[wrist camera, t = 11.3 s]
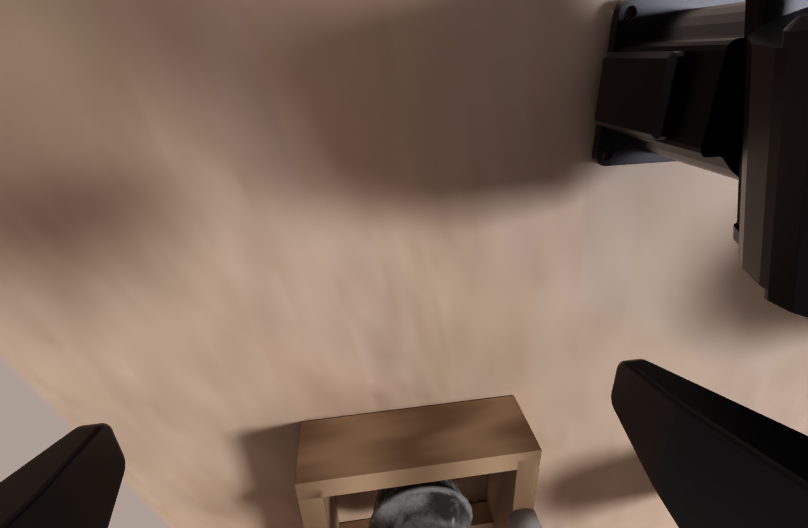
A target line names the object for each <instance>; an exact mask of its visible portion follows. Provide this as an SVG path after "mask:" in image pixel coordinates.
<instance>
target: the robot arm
mask: <svg viewBox="0 0 808 528" xmlns="http://www.w3.org/2000/svg"><path fill="white" fill-rule="evenodd" d="M628 7H629V8H630V10H631V15H630V18H629V19H628V20H626V18H625V11H626V9H627V8H628ZM595 121H596V122H597V125H596V131H595V138H594V145H593V151H592V158H593V160H594V162H596V163H597V164H600V165H602V166H612V165H626V164H640V163H654V162H669V161H680V162H683V163H686V164H689V165H693V166H696V167H699V168H702V169H705V170H709V171H712V172H715V173H718V174H721V175H725V176H728V177H731V178H734V179H737V180H739V186H738V213H737V223H735V224H734V229H733V238H734V240H735V241H736V242H737V243H738V244H739V255H740V260H741V265H742V268H743V269H744V270H745V271H746V272H747V273H748V274H749V275H750V276H751V277H752V278H753V279H754V280H755V281H756V282H757V283H758V284H759V285H760V286H761V287H763V288H764V298H766V299H767V300H768V301H770V302H772V303H774V304H775V305H777V306H779V307H781V308H783V309H785V310H787V311H789V312H791V313H793V314H795V315H797V316H800V317H803V318H806V319H808V0H623V1H621V2H620V3H619V4H618V5H617V6H616V8H615V10H614V13H613V18H612V25H611V31H610V38H609V45H608V51H607V56H606V57H605V58H604V60H603V66H602V73H601V80H600V86H599V93H598V100H597V107H596V113H595ZM605 150H608V154H607V156H606V157H605V158H602V154H603V152H604V151H605ZM611 400H612V405H613V407H614V410H615V412H616V414H617V416H618V418H619V420H620V422H621V424H622V426H623V428H624V430H625V432H626V434H627V436H628V438H629V440H630V442H631V444H632V446H633V448H634V450H635V452H636V454H637V456H638V458H639V460H640V462H641V464H642V466H643V468H644V470H645V472H646V474H647V475H648V477H649V479H650V481H651V483H652V485H653V486H654V488H655V490H656V491H657V493H658V495H659V496H660V498H661V500H662V501H663V503H664V505H665V506H666V508H667V509H668V511H669V513H670V514H671V516H672V517H673V519H674V521H675V522H676V524H677V525H678V527H679V528H808V436H806V435H804V434H802V433H800V432H798V431H796V430H794V429H791V428H789V427H787V426H785V425H783V424H781V423H779V422H776V421H774V420H772V419H770V418H768V417H766V416H764V415H762V414H759V413H757V412H755V411H753V410H751V409H749V408H747V407H744V406H742V405H740V404H738V403H736V402H734V401H732V400H730V399H727V398H725V397H723V396H721V395H719V394H717V393H715V392H712V391H710V390H708V389H706V388H704V387H702V386H700V385H698V384H695V383H693V382H691V381H689V380H687V379H685V378H683V377H680V376H678V375H676V374H674V373H672V372H670V371H668V370H666V369H663V368H661V367H659V366H657V365H655V364H653V363H651V362H649V361H646V360H644V359H634V360H626V361H622V362H620V364H619V365H618V367H617V371H616V375H615V380H614V384H613V389H612V393H611ZM124 471H125V458H124V455H123V453H122V450H121V448H120V446H119V444H118V441H117V439H116V437H115V435H114V432H113V430H112V428H111V427H110V426H109V425H108V424H105V423H99V424H91V425H83V426H79V427H77V428H75V429H74V430H72V431H71V432H70V433H68V434H67V435H65V436H64V437H63V438H61V439H60V440H59V441H57V442H56V443H54V444H53V445H52V446H50V447H49V448H47V449H46V450H45V451H43V452H42V453H41V454H39V455H38V456H36V457H35V458H34V459H32V460H31V461H29V462H28V463H27V464H25V465H24V466H23V467H21V468H20V469H18V470H17V471H16V472H14V473H13V474H11V475H10V476H8V477H7V478H6V479H4V480H3V481H2V482H0V528H108V525H109V522H110V519H111V515H112V512H113V508H114V505H115V502H116V498H117V495H118V492H119V488H120V485H121V482H122V478H123V475H124Z"/></svg>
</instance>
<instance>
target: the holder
mask: <svg viewBox="0 0 808 528" xmlns="http://www.w3.org/2000/svg"><path fill="white" fill-rule="evenodd" d="M541 451H542V450H541V448H540V446H539V444H538V442H537V440H536V438H535V436H534V434H533V432H532V430H531V428H530V426H529V424H528V422H527V420H526V418H525V417H524V415H523V413H522V411H521V409H520V407H519V405H518V403H517V401H516V399H515V397H514V395H513V396H505V397H497V398H489V399H481V400H473V401H465V402H457V403H449V404H441V405H433V406H425V407H417V408H409V409H401V410H393V411H384V412H376V413H368V414H360V415H352V416H344V417H336V418H328V419H320V420H312V421H304V422H301V428H300V437H299V447H298V456H297V465H296V475H295V484H294V485H295V489H296V494H297V499H298V503H299V508H300V513H301V517H302V522H303V527H304V528H369V520H370V519H365V520H358V521H352V522H345V523H339V520H338V513H337V507H336V501H335V496H336V495H343V494H350V493H357V492H364V491H371V490H378V489H385V488H392V487H399V486H406V485H413V484H420V483H427V482H434V481H441V480H448V479H455V478H462V477H469V476H476V475H483V474H489V477H488V492H487V501H486V502H479V503H472V504H470V505H471V507H472V514H473V518H472V522H471V525H470V527H469V528H542V527H541V525H540V522H539V520H538V518H537V515H536V513H535V511H534V510H533V508H534V500H535V493H536V486H537V479H538V472H539V465H540V458H541Z"/></svg>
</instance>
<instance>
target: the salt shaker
mask: <svg viewBox="0 0 808 528" xmlns="http://www.w3.org/2000/svg"><path fill="white" fill-rule="evenodd" d="M377 491H378V492H379V494H378V496H377V499H376V502H375V505H374V512H373V514H372V516H371V518H370V520H369V528H469V527H470V525H471V522H472V518H473V514H472V507H471V505H470V503H469V501H468V500H467V498H466V497H464V496H463V495H462V493H461V492H460V490H459V488H458V487H457V486H456V484H455V483H454V482H453V481H452V480H451V479H448V480H441V481H434V482H427V483H420V484H413V485H406V486H399V487H392V488H385V489H378V490H377Z"/></svg>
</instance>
